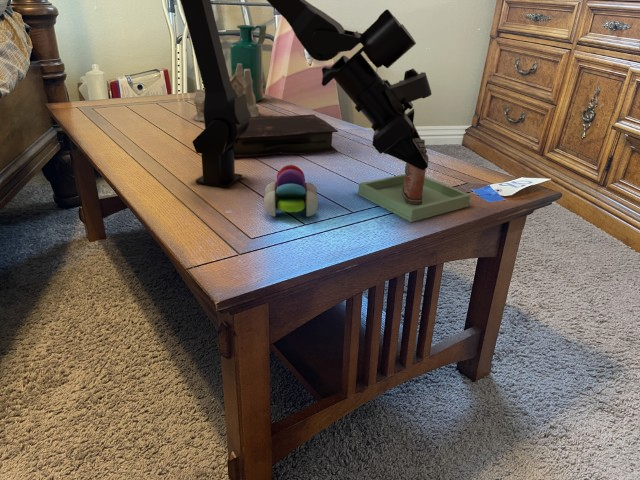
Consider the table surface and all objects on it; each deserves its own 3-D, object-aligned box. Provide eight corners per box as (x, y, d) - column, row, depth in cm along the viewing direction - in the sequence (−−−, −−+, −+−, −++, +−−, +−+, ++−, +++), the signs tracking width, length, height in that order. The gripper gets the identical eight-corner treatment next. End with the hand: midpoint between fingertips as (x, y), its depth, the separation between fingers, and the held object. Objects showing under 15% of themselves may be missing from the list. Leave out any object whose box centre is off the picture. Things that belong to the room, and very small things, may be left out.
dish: (410, 222, 80) (412, 209, 80) (358, 194, 90) (358, 183, 90) (469, 206, 88) (471, 194, 87) (414, 182, 97) (415, 171, 97)
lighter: (399, 188, 92) (406, 133, 88) (418, 189, 92) (426, 134, 88) (404, 205, 85) (412, 146, 81) (424, 206, 85) (434, 147, 81)
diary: (211, 137, 120) (210, 115, 118) (312, 132, 128) (313, 112, 126) (224, 160, 105) (223, 136, 102) (338, 153, 112) (339, 131, 110)
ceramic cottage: (266, 112, 144) (261, 57, 137) (244, 128, 130) (238, 67, 123) (215, 111, 148) (208, 56, 141) (189, 126, 134) (180, 66, 127)
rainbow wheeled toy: (316, 199, 87) (317, 158, 84) (317, 223, 79) (319, 178, 75) (266, 198, 87) (266, 157, 84) (262, 222, 78) (262, 177, 75)
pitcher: (229, 101, 158) (226, 24, 148) (239, 96, 165) (237, 22, 155) (259, 104, 156) (258, 26, 146) (268, 99, 163) (268, 24, 154)
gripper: (404, 60, 71) (471, 145, 74) (406, 47, 87) (461, 117, 91) (344, 112, 75) (410, 190, 79) (356, 91, 92) (410, 156, 95)
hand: (425, 160), depth 86 cm, fingers closed on lighter, 8 cm apart
